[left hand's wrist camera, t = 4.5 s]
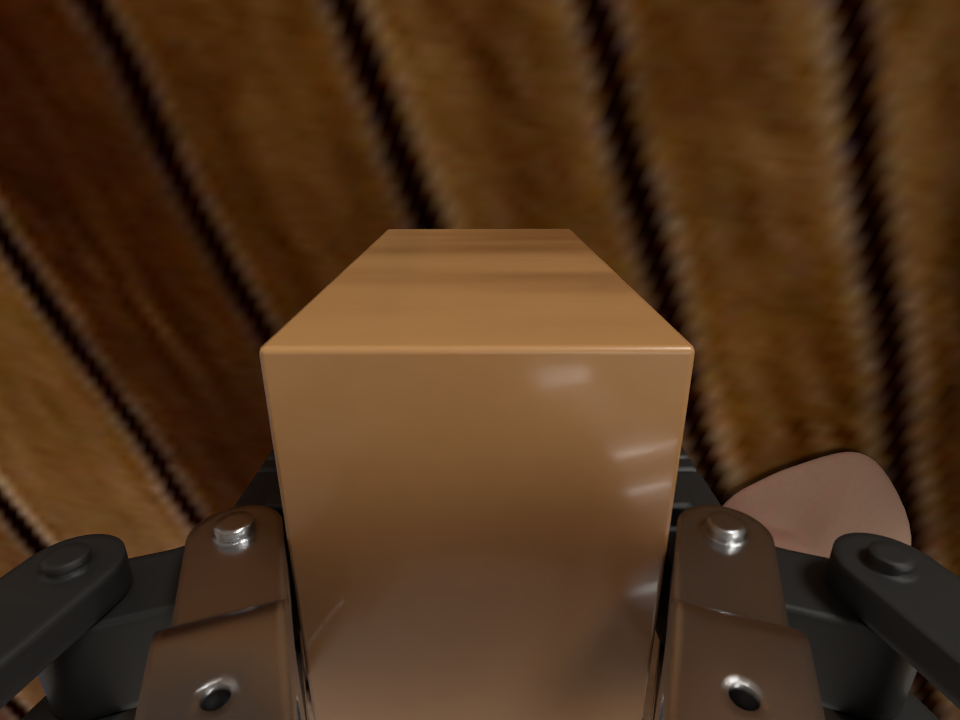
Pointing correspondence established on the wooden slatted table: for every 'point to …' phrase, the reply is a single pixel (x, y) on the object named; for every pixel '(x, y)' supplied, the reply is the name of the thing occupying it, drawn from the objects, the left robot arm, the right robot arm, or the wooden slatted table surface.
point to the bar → (477, 478)
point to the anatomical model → (825, 503)
